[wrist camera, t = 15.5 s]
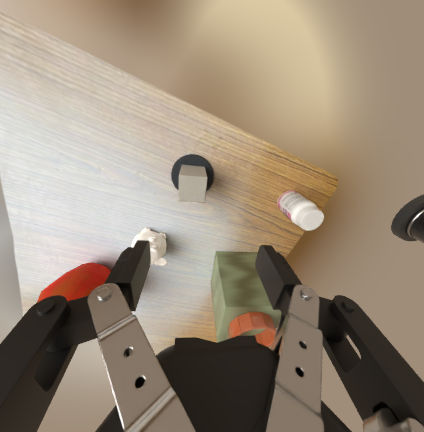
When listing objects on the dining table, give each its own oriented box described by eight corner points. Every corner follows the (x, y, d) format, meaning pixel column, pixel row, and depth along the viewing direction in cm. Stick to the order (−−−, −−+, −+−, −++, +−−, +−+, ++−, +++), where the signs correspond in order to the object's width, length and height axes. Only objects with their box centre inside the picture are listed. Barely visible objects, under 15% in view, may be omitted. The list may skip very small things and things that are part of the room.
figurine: (174, 235, 37) (171, 256, 31) (164, 256, 39) (159, 279, 34) (137, 222, 35) (126, 242, 29) (129, 245, 37) (117, 268, 31)
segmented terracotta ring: (277, 311, 30) (284, 326, 28) (265, 336, 34) (270, 351, 31) (232, 312, 29) (235, 327, 26) (225, 338, 32) (227, 354, 30)
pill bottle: (272, 204, 36) (292, 225, 28) (287, 185, 34) (314, 202, 26) (287, 214, 37) (310, 236, 30) (303, 197, 35) (332, 216, 28)
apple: (136, 263, 40) (111, 326, 27) (117, 293, 44) (87, 360, 31) (79, 241, 35) (18, 304, 23) (64, 277, 40) (5, 346, 27)
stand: (259, 252, 42) (287, 306, 29) (250, 283, 47) (270, 340, 34) (215, 251, 40) (225, 307, 28) (210, 283, 45) (217, 342, 33)
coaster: (215, 156, 30) (215, 157, 30) (210, 196, 33) (211, 197, 33) (171, 152, 29) (171, 152, 29) (171, 194, 32) (171, 194, 32)
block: (204, 166, 30) (207, 177, 24) (202, 188, 32) (204, 203, 26) (182, 164, 30) (178, 174, 23) (181, 186, 31) (178, 201, 25)
